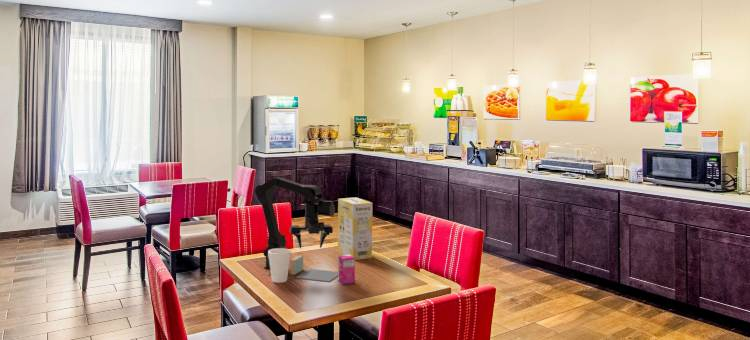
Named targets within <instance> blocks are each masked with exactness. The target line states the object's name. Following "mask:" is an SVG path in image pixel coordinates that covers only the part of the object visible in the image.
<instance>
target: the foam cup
mask: <svg viewBox="0 0 750 340" xmlns="http://www.w3.org/2000/svg"><path fill="white" fill-rule="evenodd" d="M291 254H292V252H291V249H289V248H286V247H285V248H276V249H271V250H269V251H268V257H269V263H270V269H269V270H270V277H271V282H273V283H277V284H278V283H286V282H287V281H288V275H289V269H290V260H291Z"/></svg>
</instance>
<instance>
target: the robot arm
mask: <svg viewBox="0 0 750 340" xmlns="http://www.w3.org/2000/svg"><path fill="white" fill-rule="evenodd" d="M278 188H281V189H284V190H286V191H287V190H288V191H290V192H293V193H295V194H298V195H300V196H301V197H302V198H304V199H303V200H302V201H301V202H300V203H301V204H305V214H304V226H302V227H301V226H300V225H298V224H297V225H295V224H294V225H293V224H292V225H290V226H289V233H290V234H291V235H293V236H294V237H295V238H296V240H297V243H298V247H299V249H302V237H301V236H302V235H301V232H308V234H310V235H313V234H316V235H319V234H320V237H319V240H320V241H319V248H322V247H323V244H324V242H325V239H326V237H328V236H330V235H331V234H332V233H333V231H334V229H333V227H332V226H331V224H325V222H323V221H322V222H321V221H319V216H325V217H334V215H335V213H336V207H335V204H334V201H333V200H326V198H325V197H324V195H323V193H322V191H321V189H320V186H318V185H314V184H302V183H299V182H295V181H293V180H289V179H286V178H285V177H281V176H276V177H273V178H271V179H270V180H268V181H266V182H264V183H262V184H257V185H256V186H255V188H254V194H255V196H256V197H255V198H256V199H257V200H258V202H260V204H261V207H262V211H263V215H264V219H265V224H266V228H267V232H268V237H267V247H266V248H265V249H264V250H263V251H262V252H263V253H262V254H263V256H264V257H265V266H264V267H263V268H264V269H266V270H267V269H269V270H270V263H269V257H268V251H269V250H271V249H276V248H285V249H286V247H287V239H286V235H285V234H284V233H283V234H282V233H281V232H280V230H279V226H278V221H277V217H276V213H275V209H274V205H273V199H274V191H275V190H276V189H278Z"/></svg>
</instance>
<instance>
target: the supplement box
mask: <svg viewBox="0 0 750 340" xmlns="http://www.w3.org/2000/svg"><path fill="white" fill-rule="evenodd" d="M337 259H338V260H337V261H338V262H337V265H338V267H337V269H338V271H337V272H338V276H337V278H338V279H337V280H338V282H339V283H340V284H341V285H342V286H347V285H354V284H356V279H355V278H356V271H355V270H356V265H355V264H356V260H355V258H354V257H353V256H352V255H350V254H349V255H343V254H342V255H341V254H340V255H338V256H337Z"/></svg>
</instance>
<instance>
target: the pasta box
mask: <svg viewBox="0 0 750 340" xmlns="http://www.w3.org/2000/svg"><path fill="white" fill-rule="evenodd" d="M337 200H338V201H337V202H338V203H337V205H338V206H337V252H338V253H340V255H341V254H342V255H349V254H350V255H352V256H353V257H354V258H355V261H357V260H364V259H372V258H373V202H371V201H369V200H366V199H362V198H359V197H356V196H355V197H345V198H342V197H341V198H338V199H337Z"/></svg>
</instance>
